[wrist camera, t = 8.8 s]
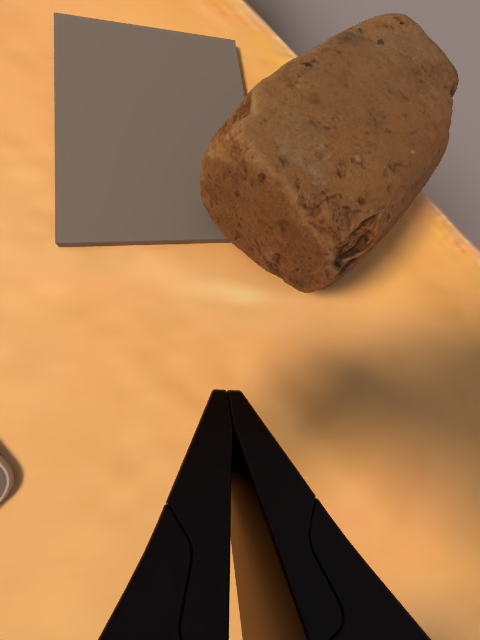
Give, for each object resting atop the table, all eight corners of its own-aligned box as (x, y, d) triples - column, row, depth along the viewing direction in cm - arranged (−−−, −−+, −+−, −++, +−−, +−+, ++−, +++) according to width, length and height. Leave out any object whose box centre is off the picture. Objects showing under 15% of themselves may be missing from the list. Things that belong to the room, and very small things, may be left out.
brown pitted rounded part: (192, 94, 11) (394, -16, 18) (183, 208, 18) (332, 96, 25) (376, 269, 11) (506, 92, 18) (297, 315, 18) (413, 175, 25)
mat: (267, 241, 20) (269, 237, 19) (59, 246, 17) (55, 242, 16) (233, 47, 23) (234, 40, 23) (57, 21, 20) (54, 12, 20)
